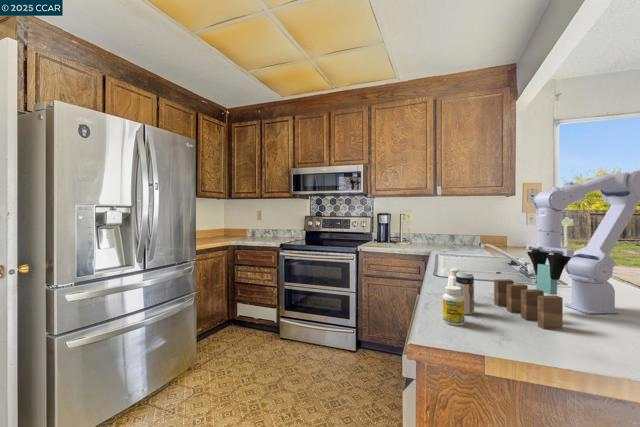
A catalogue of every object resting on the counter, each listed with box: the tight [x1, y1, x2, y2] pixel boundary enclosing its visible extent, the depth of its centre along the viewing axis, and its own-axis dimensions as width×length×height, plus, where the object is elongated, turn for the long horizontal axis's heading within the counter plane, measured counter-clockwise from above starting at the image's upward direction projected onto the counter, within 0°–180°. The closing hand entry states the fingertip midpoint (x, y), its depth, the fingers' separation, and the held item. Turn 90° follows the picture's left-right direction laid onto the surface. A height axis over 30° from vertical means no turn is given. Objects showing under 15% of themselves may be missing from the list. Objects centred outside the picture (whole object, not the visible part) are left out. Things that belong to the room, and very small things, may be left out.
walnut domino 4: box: [537, 295, 564, 330], centre depth 76 cm, size 2×5×8 cm, turn 92°
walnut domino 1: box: [493, 278, 514, 307], centre depth 94 cm, size 2×5×8 cm, turn 92°
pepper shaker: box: [447, 268, 460, 286], centre depth 98 cm, size 5×5×11 cm
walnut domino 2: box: [506, 283, 529, 314], centre depth 88 cm, size 2×5×8 cm, turn 92°
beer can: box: [456, 270, 475, 316], centre depth 87 cm, size 5×5×12 cm
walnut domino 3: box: [520, 288, 545, 321], centre depth 82 cm, size 2×5×8 cm, turn 92°
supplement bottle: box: [442, 285, 466, 327], centre depth 80 cm, size 5×5×10 cm
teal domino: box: [535, 263, 558, 296], centre depth 87 cm, size 2×5×8 cm, turn 3°
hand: (546, 277), depth 87 cm, fingers closed on teal domino, 5 cm apart
